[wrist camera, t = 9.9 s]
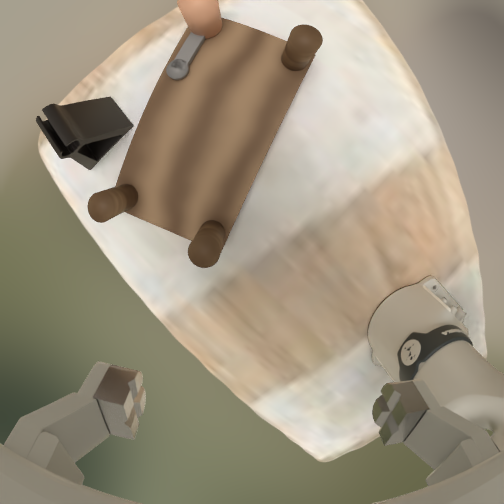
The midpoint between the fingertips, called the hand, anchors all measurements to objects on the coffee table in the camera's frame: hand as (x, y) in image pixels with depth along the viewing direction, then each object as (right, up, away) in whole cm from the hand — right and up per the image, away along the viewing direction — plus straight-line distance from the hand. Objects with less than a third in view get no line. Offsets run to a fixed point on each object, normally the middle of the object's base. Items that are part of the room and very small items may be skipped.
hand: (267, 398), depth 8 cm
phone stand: (-22, +21, +25) cm, 40 cm away
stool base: (-6, +21, +26) cm, 33 cm away
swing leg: (-7, +29, +19) cm, 36 cm away
